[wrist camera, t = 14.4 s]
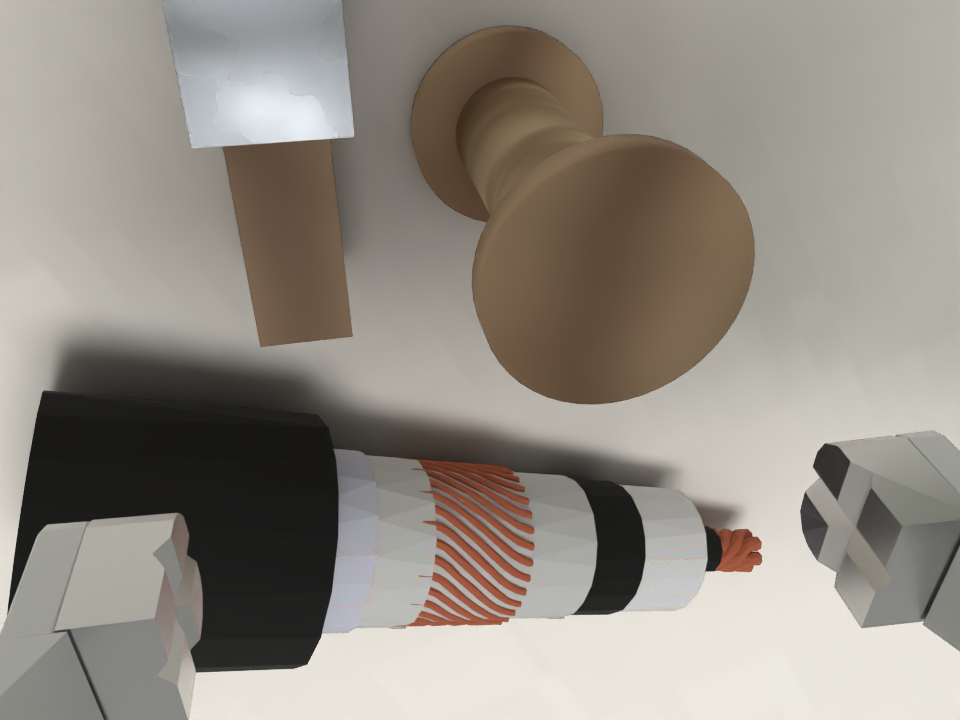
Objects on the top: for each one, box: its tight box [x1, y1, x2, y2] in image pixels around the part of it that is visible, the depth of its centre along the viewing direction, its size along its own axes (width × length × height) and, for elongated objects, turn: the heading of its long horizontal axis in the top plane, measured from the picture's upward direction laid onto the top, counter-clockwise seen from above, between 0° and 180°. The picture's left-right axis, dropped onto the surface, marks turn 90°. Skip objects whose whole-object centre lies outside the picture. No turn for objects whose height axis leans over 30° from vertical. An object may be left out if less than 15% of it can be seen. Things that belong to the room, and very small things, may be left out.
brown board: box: [223, 139, 353, 347], centre depth 25 cm, size 3×20×6 cm, turn 1°
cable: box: [7, 391, 762, 672], centre depth 37 cm, size 10×34×10 cm, turn 68°
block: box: [162, 0, 354, 148], centre depth 23 cm, size 4×4×8 cm
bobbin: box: [411, 26, 755, 404], centre depth 26 cm, size 7×7×13 cm
